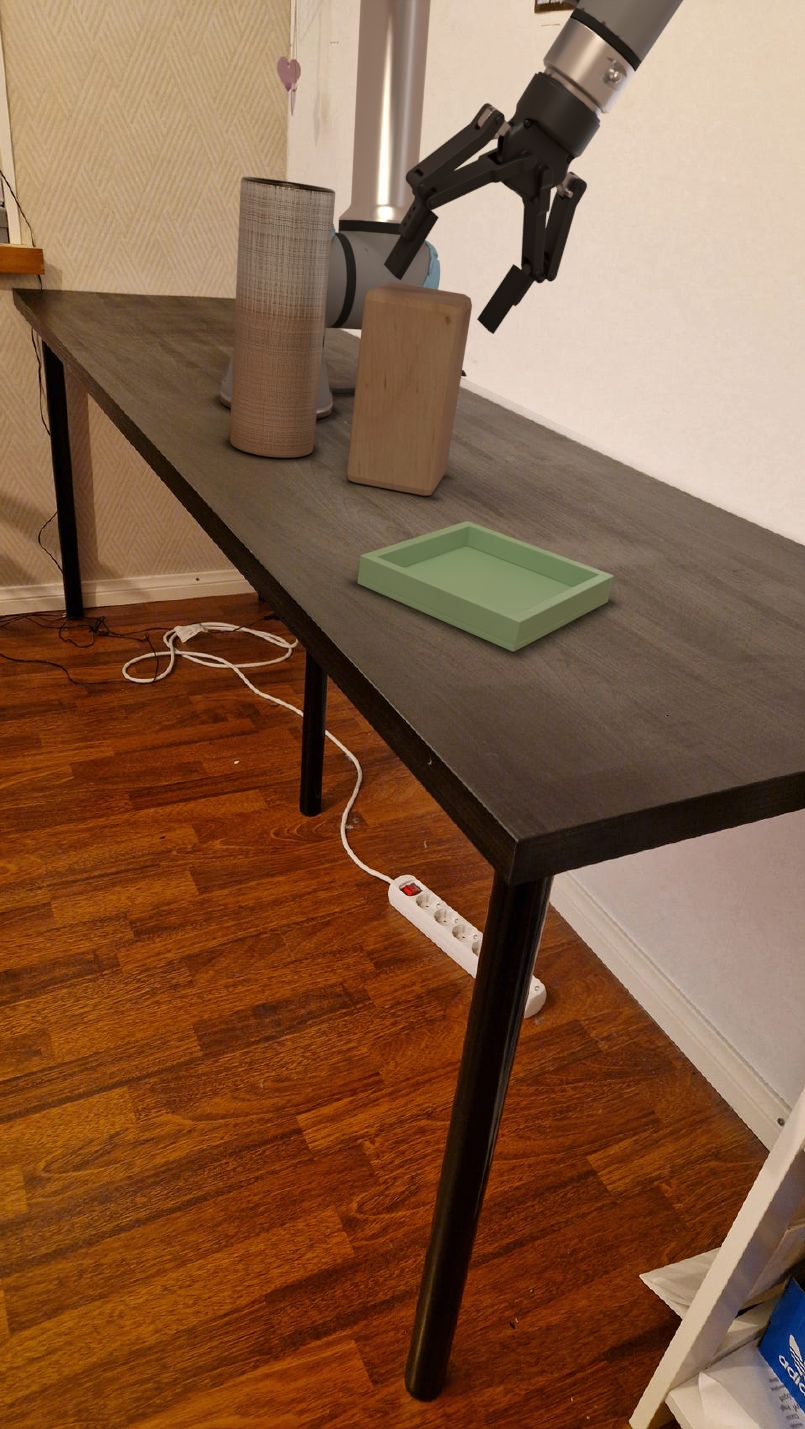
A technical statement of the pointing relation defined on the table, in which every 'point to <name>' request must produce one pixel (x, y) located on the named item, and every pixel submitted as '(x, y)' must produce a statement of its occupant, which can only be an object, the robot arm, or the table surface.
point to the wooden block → (407, 386)
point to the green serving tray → (486, 583)
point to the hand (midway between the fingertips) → (440, 301)
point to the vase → (279, 315)
